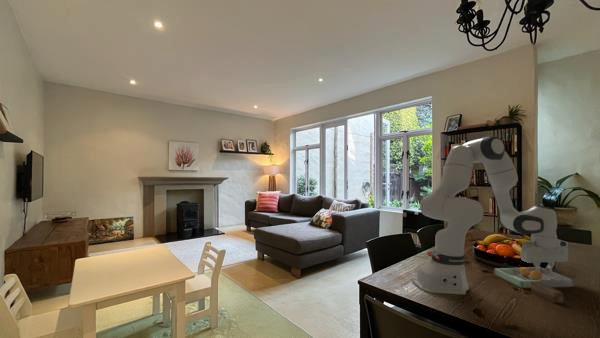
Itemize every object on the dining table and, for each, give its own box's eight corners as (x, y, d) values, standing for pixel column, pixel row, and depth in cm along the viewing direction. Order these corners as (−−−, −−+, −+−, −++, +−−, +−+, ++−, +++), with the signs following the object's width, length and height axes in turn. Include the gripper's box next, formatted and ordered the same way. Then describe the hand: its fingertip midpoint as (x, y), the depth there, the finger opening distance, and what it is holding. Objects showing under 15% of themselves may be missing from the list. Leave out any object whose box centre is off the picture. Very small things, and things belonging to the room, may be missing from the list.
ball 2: (536, 281, 115) (536, 272, 115) (527, 277, 119) (527, 269, 119) (544, 281, 115) (544, 272, 115) (536, 277, 119) (536, 269, 119)
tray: (521, 288, 111) (521, 281, 111) (494, 274, 125) (494, 268, 125) (538, 287, 111) (538, 280, 111) (509, 274, 126) (509, 268, 126)
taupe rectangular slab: (553, 304, 98) (553, 292, 98) (531, 292, 108) (531, 281, 108) (563, 304, 98) (563, 293, 98) (539, 292, 108) (539, 281, 108)
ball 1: (524, 277, 119) (524, 268, 119) (517, 274, 123) (517, 265, 123) (533, 277, 119) (533, 268, 119) (525, 273, 123) (525, 265, 123)
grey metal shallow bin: (540, 287, 111) (540, 280, 111) (511, 274, 126) (511, 267, 126) (572, 286, 112) (572, 279, 112) (540, 273, 127) (540, 267, 127)
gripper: (529, 243, 116) (529, 274, 116) (571, 242, 117) (571, 273, 117) (516, 240, 122) (516, 269, 122) (557, 238, 123) (557, 267, 123)
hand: (543, 271), depth 119 cm, fingers open, 3 cm apart
